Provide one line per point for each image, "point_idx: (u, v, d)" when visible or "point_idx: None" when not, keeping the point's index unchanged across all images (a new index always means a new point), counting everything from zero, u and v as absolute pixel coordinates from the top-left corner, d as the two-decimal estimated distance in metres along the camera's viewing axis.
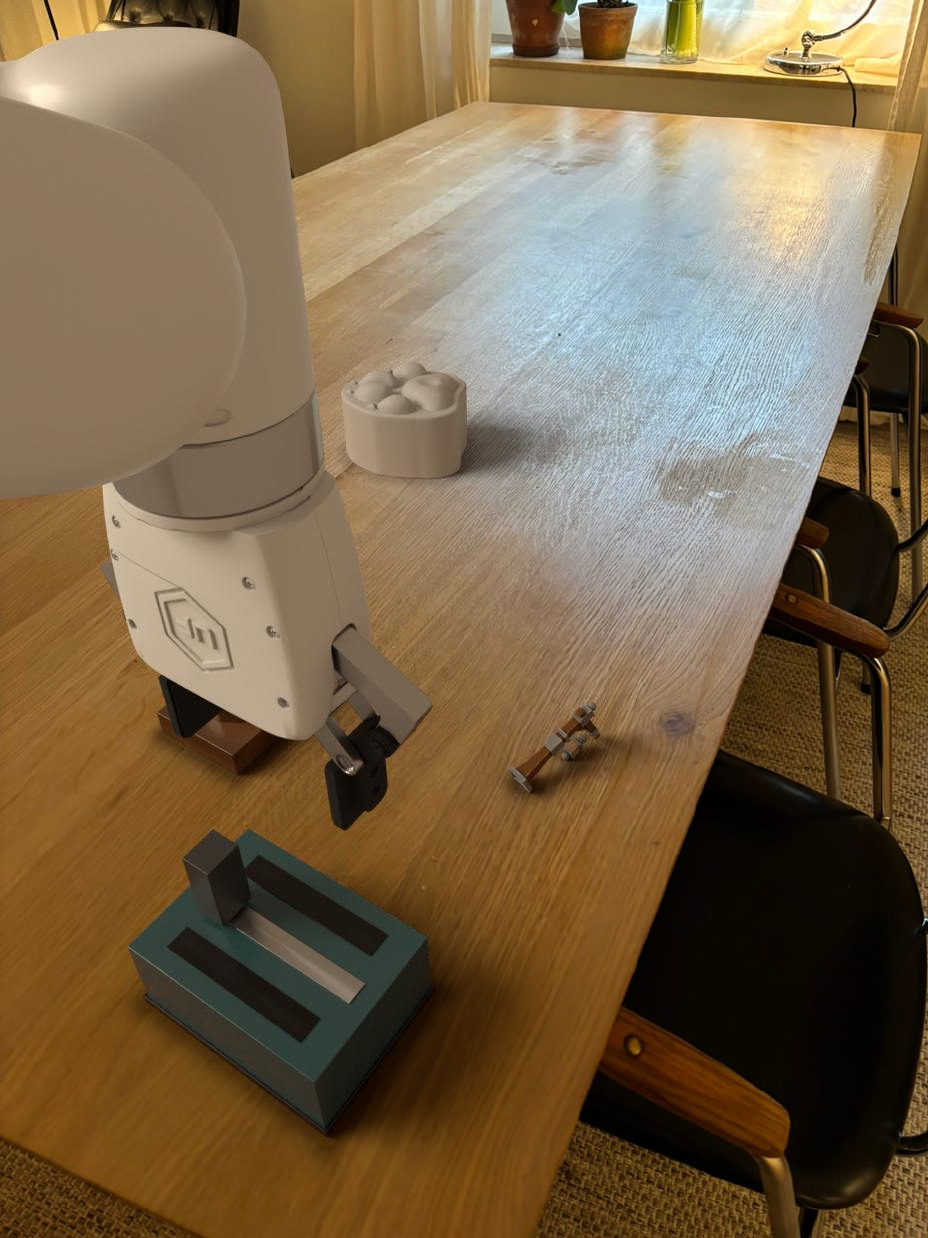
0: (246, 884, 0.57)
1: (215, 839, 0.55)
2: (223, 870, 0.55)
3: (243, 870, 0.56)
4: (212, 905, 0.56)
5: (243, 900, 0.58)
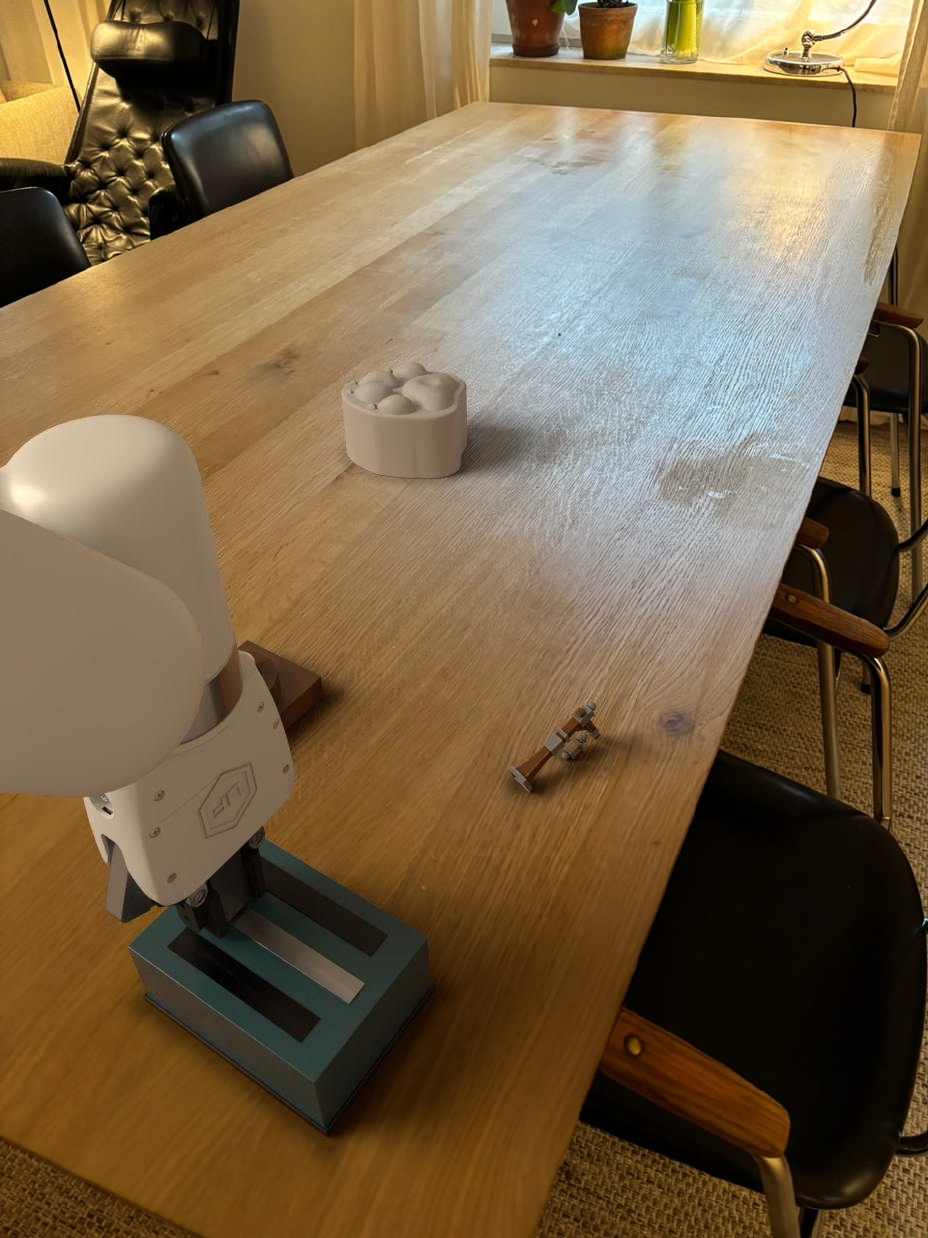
0: (246, 884, 0.57)
1: None
2: (223, 870, 0.55)
3: (243, 870, 0.56)
4: None
5: (243, 900, 0.58)
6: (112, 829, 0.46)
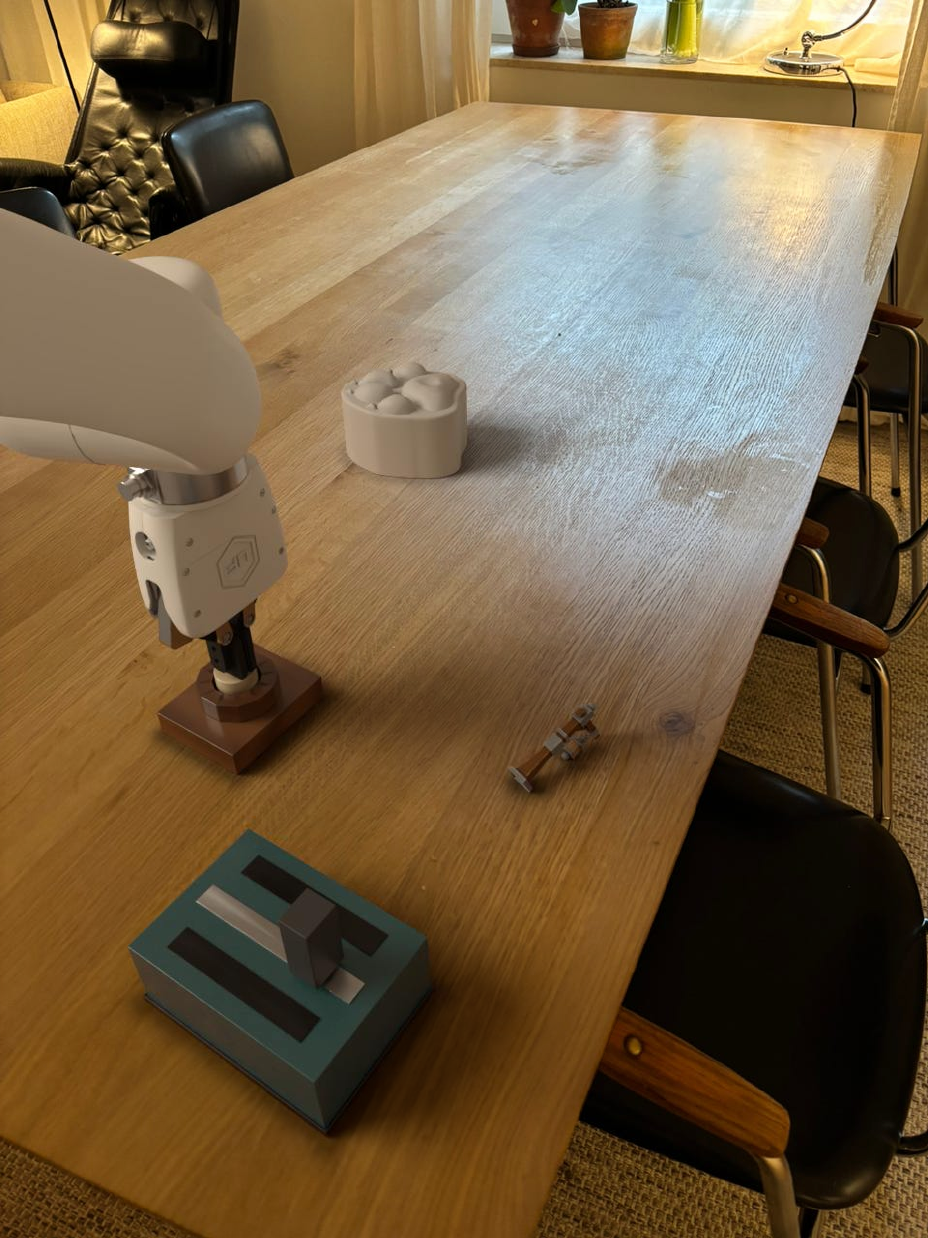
0: (340, 944, 0.54)
1: (311, 899, 0.52)
2: (320, 933, 0.52)
3: (338, 930, 0.53)
4: (307, 968, 0.53)
5: (336, 961, 0.55)
6: (154, 571, 0.64)
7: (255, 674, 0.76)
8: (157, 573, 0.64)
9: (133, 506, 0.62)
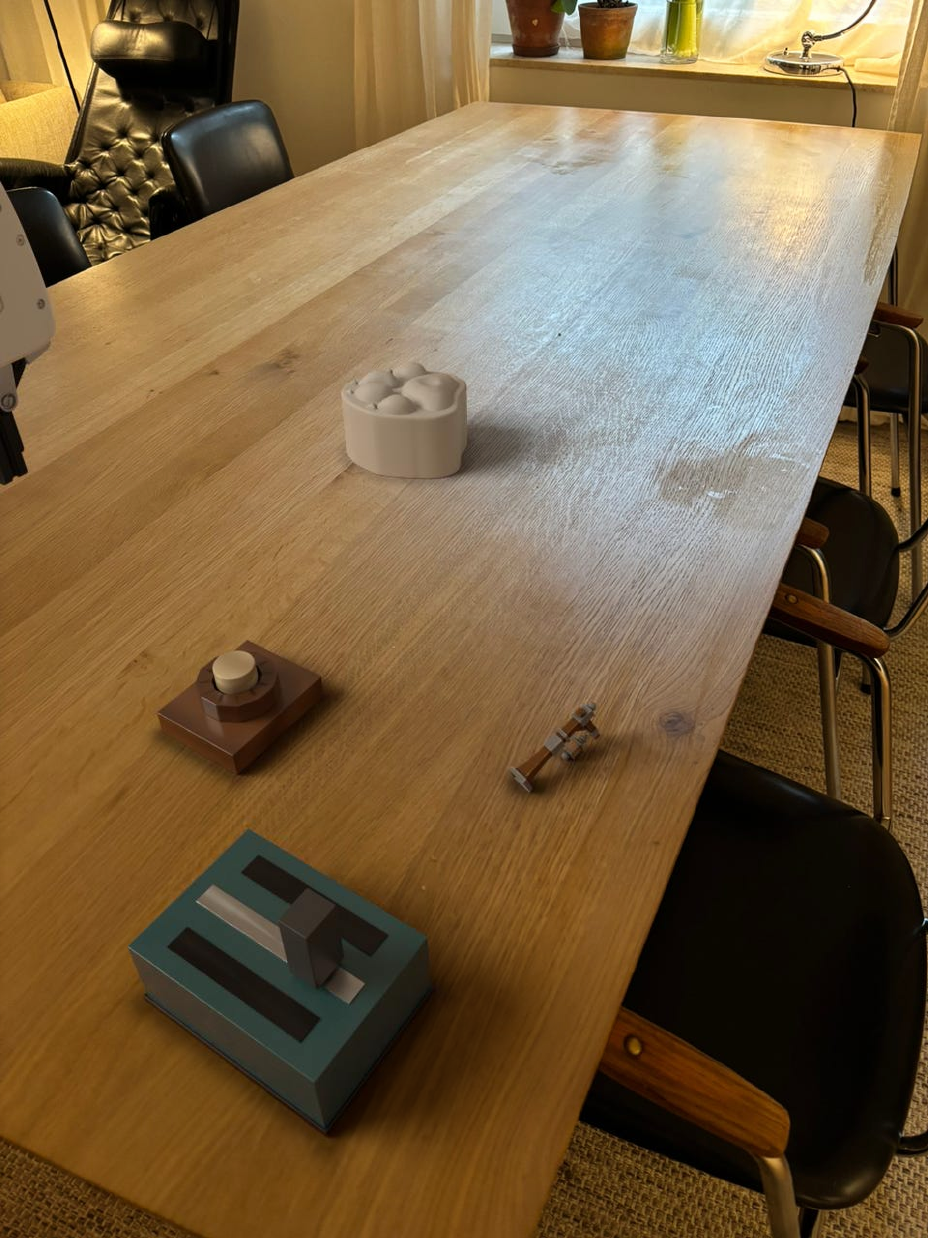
0: (340, 944, 0.54)
1: (311, 899, 0.52)
2: (320, 933, 0.52)
3: (338, 930, 0.53)
4: (307, 968, 0.53)
5: (336, 961, 0.55)
6: None
7: (254, 670, 0.75)
8: None
9: None
